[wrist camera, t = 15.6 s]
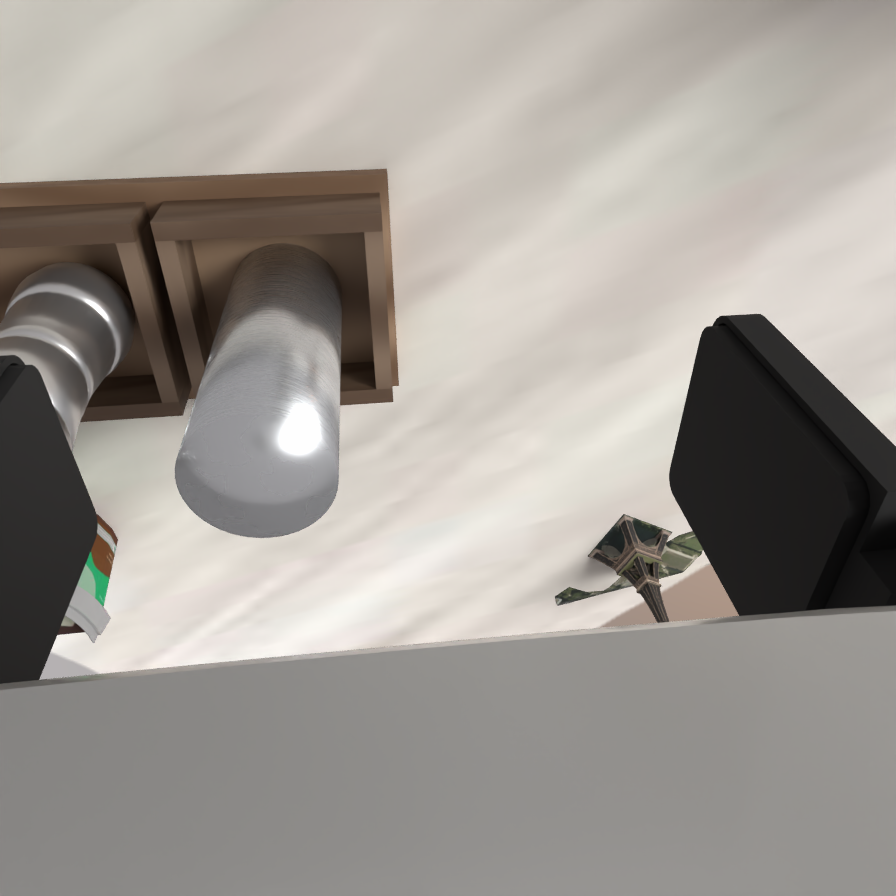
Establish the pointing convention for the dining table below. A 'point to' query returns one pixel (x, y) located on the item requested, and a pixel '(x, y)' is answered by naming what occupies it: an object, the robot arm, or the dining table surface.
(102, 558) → the food container
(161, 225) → the wooden compartment tray
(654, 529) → the eiffel tower figurine
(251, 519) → the grey metal canister
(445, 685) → the robot arm
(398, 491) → the dining table surface
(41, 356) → the plastic bottle
